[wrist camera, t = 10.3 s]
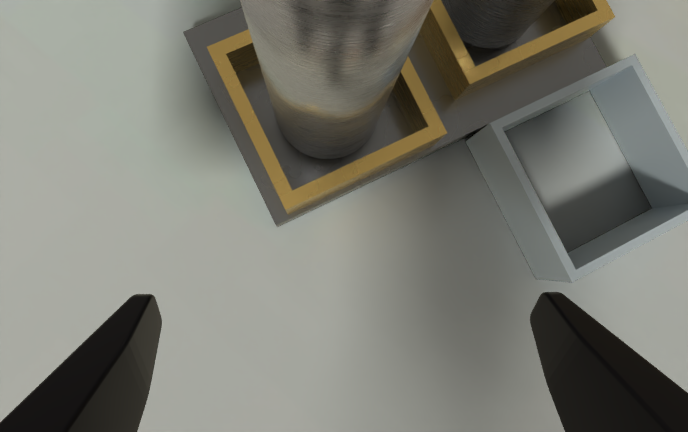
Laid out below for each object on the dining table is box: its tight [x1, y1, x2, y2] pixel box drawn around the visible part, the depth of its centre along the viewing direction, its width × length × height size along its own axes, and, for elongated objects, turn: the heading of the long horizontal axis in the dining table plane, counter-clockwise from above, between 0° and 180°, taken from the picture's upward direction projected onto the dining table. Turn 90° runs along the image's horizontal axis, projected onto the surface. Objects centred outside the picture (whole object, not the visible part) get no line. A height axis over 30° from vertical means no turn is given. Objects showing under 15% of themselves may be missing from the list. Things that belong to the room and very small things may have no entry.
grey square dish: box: [465, 54, 688, 283], centre depth 20 cm, size 8×8×3 cm
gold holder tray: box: [183, 0, 615, 227], centre depth 20 cm, size 18×10×3 cm, turn 116°
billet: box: [240, 0, 433, 159], centre depth 14 cm, size 5×5×13 cm
